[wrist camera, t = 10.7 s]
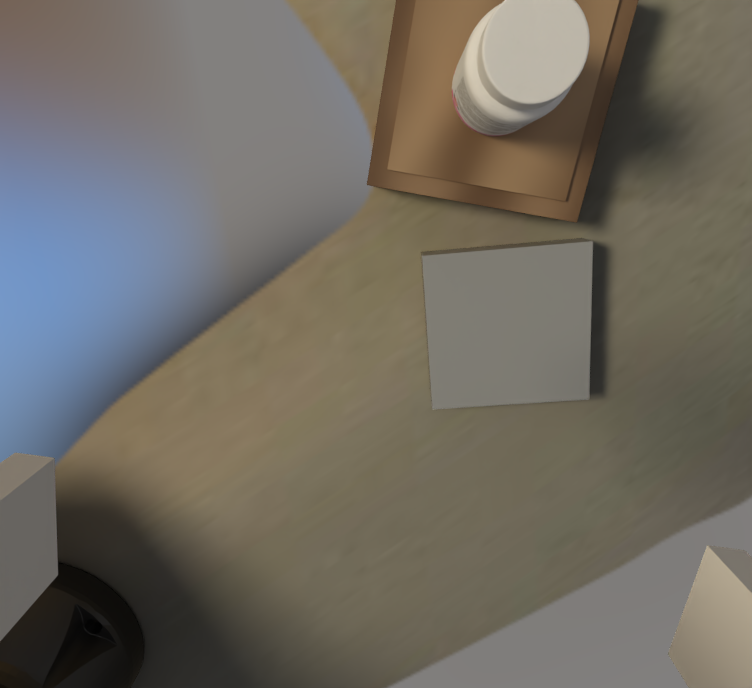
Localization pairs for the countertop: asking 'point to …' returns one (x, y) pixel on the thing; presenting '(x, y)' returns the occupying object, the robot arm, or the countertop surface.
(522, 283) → the slate tile
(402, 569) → the countertop surface
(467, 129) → the walnut stand
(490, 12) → the pill bottle
